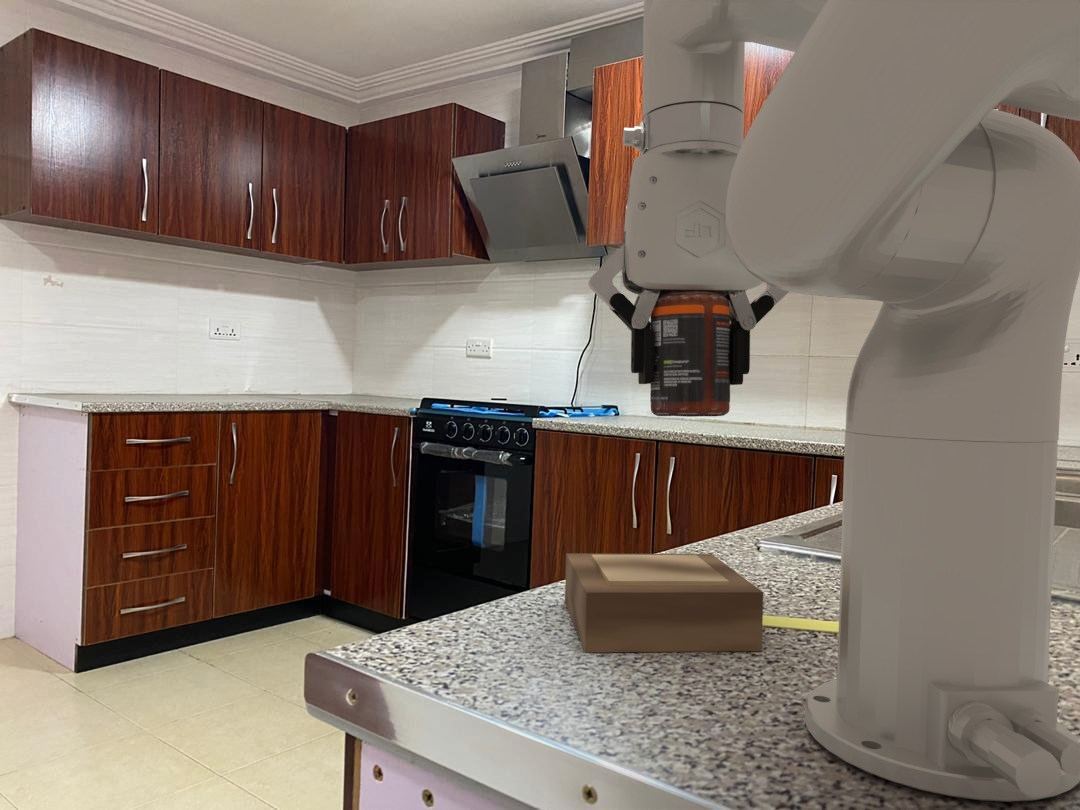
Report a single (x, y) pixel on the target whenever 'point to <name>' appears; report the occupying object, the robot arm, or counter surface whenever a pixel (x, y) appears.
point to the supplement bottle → (691, 354)
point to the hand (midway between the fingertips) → (689, 381)
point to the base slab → (661, 603)
